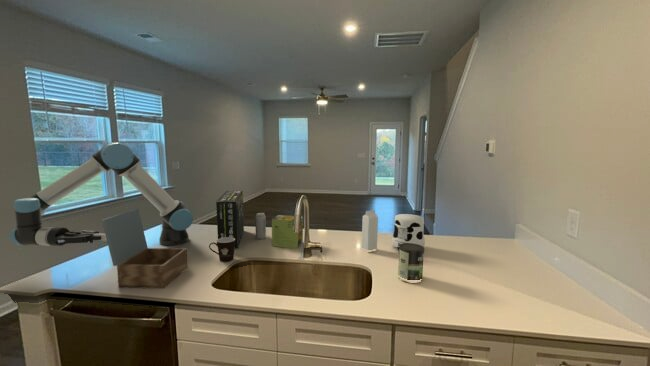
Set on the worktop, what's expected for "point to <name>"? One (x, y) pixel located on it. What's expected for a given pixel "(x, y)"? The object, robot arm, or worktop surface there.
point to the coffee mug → (225, 248)
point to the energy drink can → (260, 225)
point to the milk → (369, 230)
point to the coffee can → (411, 261)
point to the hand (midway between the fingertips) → (110, 237)
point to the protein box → (286, 232)
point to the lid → (124, 235)
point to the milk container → (408, 230)
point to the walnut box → (152, 268)
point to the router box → (230, 216)
